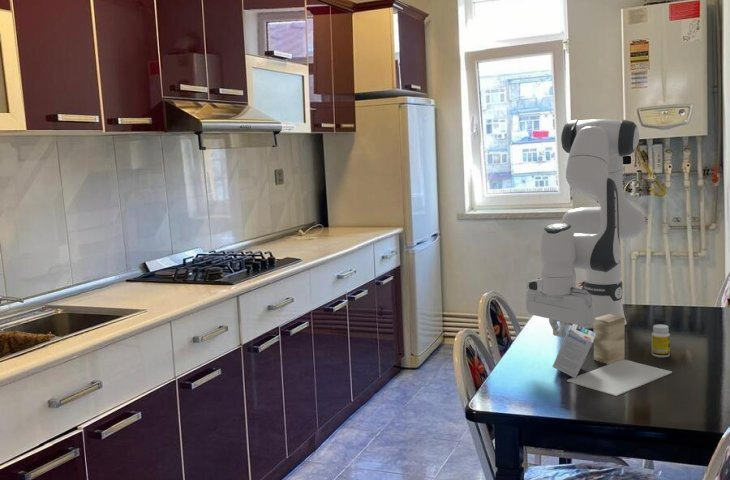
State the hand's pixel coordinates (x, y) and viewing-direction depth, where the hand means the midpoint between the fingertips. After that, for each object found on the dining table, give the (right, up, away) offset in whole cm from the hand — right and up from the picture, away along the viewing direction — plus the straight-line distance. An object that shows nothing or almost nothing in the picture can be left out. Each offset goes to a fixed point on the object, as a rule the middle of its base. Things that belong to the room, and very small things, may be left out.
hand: (559, 336), depth 181 cm
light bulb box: (+2, -9, 0) cm, 9 cm away
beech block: (+16, -8, +8) cm, 20 cm away
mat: (+14, -10, -6) cm, 18 cm away
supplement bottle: (+31, -7, +10) cm, 34 cm away
